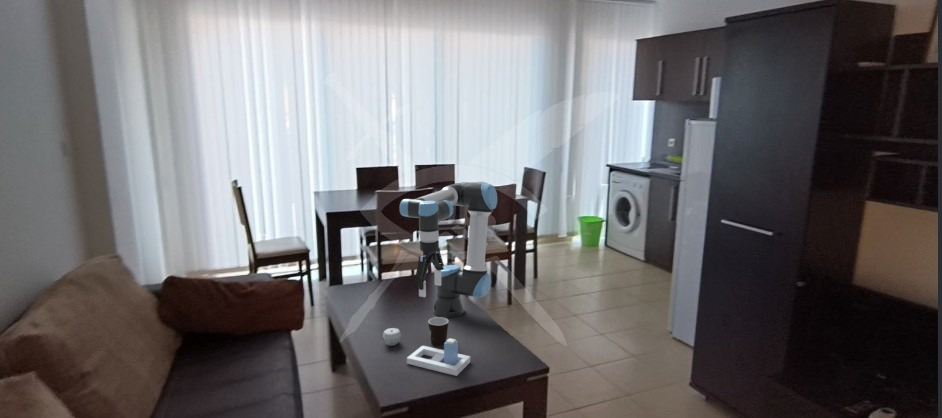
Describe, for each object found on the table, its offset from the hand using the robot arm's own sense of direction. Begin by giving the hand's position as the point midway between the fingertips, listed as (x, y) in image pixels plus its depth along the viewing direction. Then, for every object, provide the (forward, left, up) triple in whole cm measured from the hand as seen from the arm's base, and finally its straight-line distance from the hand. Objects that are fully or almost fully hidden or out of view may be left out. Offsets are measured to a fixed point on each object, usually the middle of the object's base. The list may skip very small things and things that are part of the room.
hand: (430, 290), depth 210 cm
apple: (+1, -18, -27) cm, 33 cm away
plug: (+7, +13, -27) cm, 30 cm away
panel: (+7, +8, -27) cm, 29 cm away
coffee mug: (-10, -1, -27) cm, 29 cm away
